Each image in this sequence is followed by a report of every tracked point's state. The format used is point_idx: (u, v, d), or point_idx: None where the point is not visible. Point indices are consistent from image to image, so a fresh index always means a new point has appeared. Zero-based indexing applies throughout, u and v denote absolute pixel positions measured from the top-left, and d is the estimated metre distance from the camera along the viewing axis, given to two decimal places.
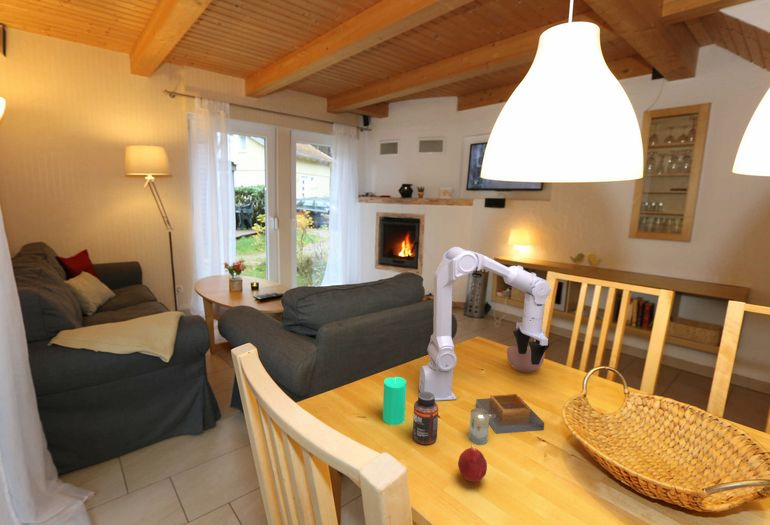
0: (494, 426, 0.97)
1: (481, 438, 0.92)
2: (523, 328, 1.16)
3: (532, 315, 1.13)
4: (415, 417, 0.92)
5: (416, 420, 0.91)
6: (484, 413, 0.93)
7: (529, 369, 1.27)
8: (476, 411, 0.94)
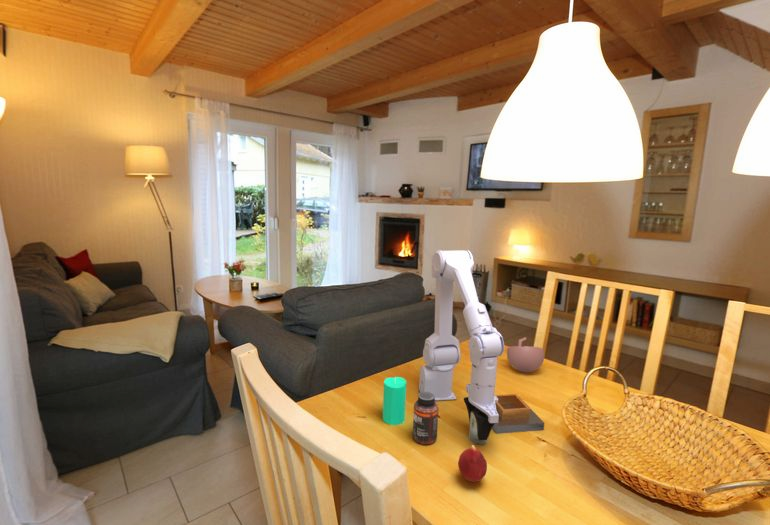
0: (494, 426, 0.97)
1: None
2: (470, 396, 0.92)
3: (471, 375, 0.92)
4: (415, 417, 0.92)
5: (416, 420, 0.91)
6: None
7: (529, 369, 1.27)
8: (476, 411, 0.94)
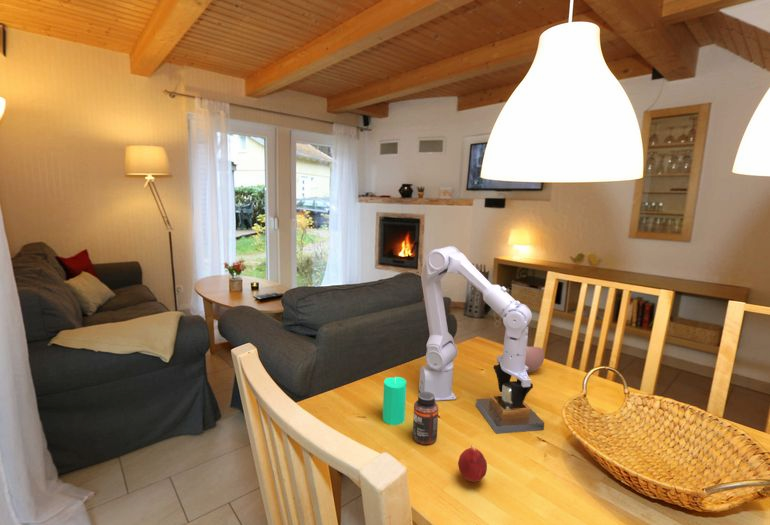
0: (494, 426, 0.97)
1: (512, 408, 1.01)
2: (503, 365, 1.01)
3: (506, 348, 1.00)
4: (415, 417, 0.92)
5: (416, 420, 0.91)
6: None
7: (529, 369, 1.27)
8: (507, 385, 1.03)
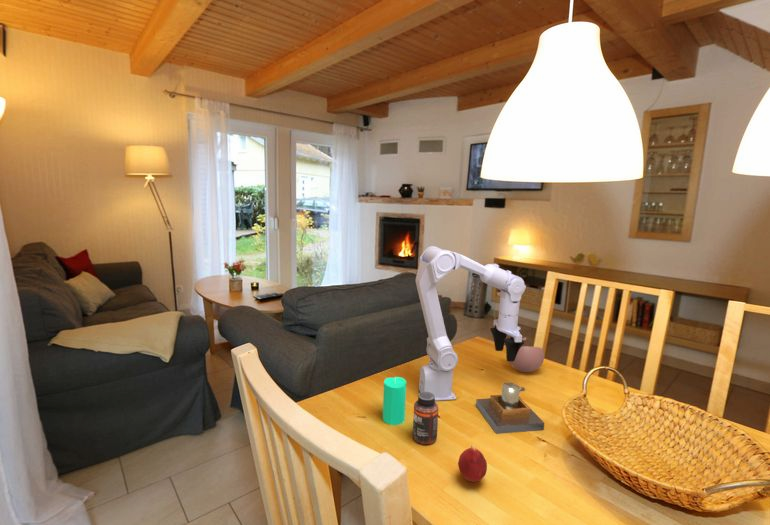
0: (494, 426, 0.97)
1: (512, 408, 1.01)
2: (499, 325, 1.16)
3: (508, 312, 1.14)
4: (415, 417, 0.92)
5: (416, 420, 0.91)
6: (515, 386, 1.02)
7: (529, 369, 1.27)
8: (507, 385, 1.03)
